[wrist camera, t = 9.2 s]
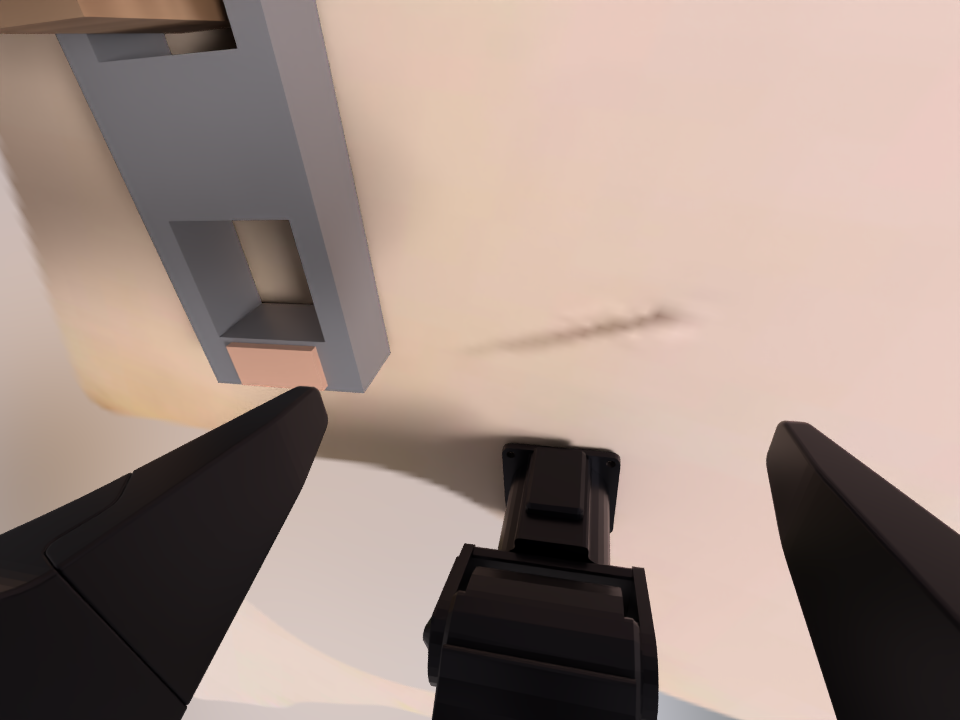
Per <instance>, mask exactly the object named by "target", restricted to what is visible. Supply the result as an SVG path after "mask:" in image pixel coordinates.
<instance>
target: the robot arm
mask: <svg viewBox="0 0 960 720" xmlns="http://www.w3.org/2000/svg"><path fill="white" fill-rule="evenodd" d="M327 424H328V416H327V413H326V410H325V407H324V404H323V400H322V397H321V394H320V392H319V390H318V389H317V388H315V387H309V386H297V387H295V388H293V389H291V390H289V391H287V392H285V393H283V394H281V395H279V396H277V397H275V398H274V399H272V400H270V401H268V402H266V403H264V404H262V405H260V406H258V407H256V408H254V409H252V410H250V411H248V412H246V413H244V414H243V415H241V416H239V417H237V418H235V419H233V420H231V421H229V422H227V423H225V424H223V425H221V426H219V427H217V428H215V429H213V430H212V431H210V432H208V433H206V434H204V435H202V436H200V437H198V438H196V439H194V440H192V441H190V442H188V443H186V444H184V445H182V446H181V447H179V448H177V449H175V450H173V451H171V452H169V453H167V454H165V455H163V456H161V457H159V458H158V459H156V460H153V461H151V462H150V463H148V464H146V465H144V466H142V467H140V468H138V469H136V470H134V471H133V473H128V474H126V475H124V476H122V477H120V478H119V479H116V480H115V481H113V482H111V483H109V484H107V485H105V486H103V487H101V488H99V489H97V490H95V491H93V492H91V493H89V494H87V495H85V496H83V497H81V498H79V499H77V500H74V501H72V502H70V503H68V504H66V505H64V506H62V507H60V508H58V509H56V510H53V511H51V512H49V513H47V514H45V515H42V516H40V517H38V518H36V519H34V520H32V521H30V522H27V523H25V524H23V525H21V526H18V527H16V528H14V529H12V530H10V531H7V532H5V533H4V534H1V535H0V720H181V719H182V717H183V715H184V713H185V711H186V709H187V706H186V705H188V704H189V703H190V701H191V699H192V697H193V695H194V693H195V691H196V689H197V688H198V686H199V684H200V682H201V680H202V678H203V676H204V674H205V672H206V670H207V669H208V667H209V665H210V663H211V661H212V659H213V657H214V655H215V653H216V651H217V650H218V648H219V646H220V644H221V642H222V640H223V638H224V636H225V634H226V632H227V631H228V629H229V627H230V625H231V623H232V621H233V619H234V617H235V615H236V613H237V611H238V610H239V608H240V606H241V604H242V602H243V600H244V598H245V596H246V594H247V592H248V591H249V589H250V587H251V585H252V583H253V581H254V579H255V577H256V575H257V573H258V572H259V570H260V568H261V566H262V564H263V562H264V560H265V558H266V556H267V554H268V553H269V550H270V548H271V547H272V545H273V543H274V541H275V539H276V537H277V535H278V534H279V532H280V530H281V528H282V526H283V524H284V522H285V520H286V518H287V516H288V515H289V512H290V511H291V509H292V507H293V505H294V503H295V501H296V499H297V497H298V495H299V493H300V491H301V489H302V487H303V485H304V483H305V480H306V478H307V476H308V473H309V470H310V468H311V466H312V463H313V461H314V458H315V456H316V453H317V451H318V448H319V446H320V443H321V441H322V438H323V436H324V433H325V431H326V428H327ZM509 451H511V452H514V453H510V452H509ZM502 459H503V473H504V488H505V502H506V511H505V516H504V521H503V526H502V531H501V536H500V541H499V546H498V550H496V549H488V548H481V547H475V545H473V544H466V543H465V544H464V546H463V548H462V550H461V553H460V555H459V557H456V560H455V562H454V564H453V567H452V569H451V572H450V574H449V576H448V579H447V581H446V583H445V586H444V588H443V591H442V593H441V595H440V597H439V600H438V602H437V604H436V607H435V609H434V612H433V614H432V617H431V618H430V620H429V621H428V623H427V624H426V626H425V629H424V633H423V641H424V643H425V644H426V646H427V648H428V678H429V683H430V685H431V686H436V693H435V701H434V708H433V715H432V720H657V713H658V688H659V684H658V657H657V646H656V638H655V632H654V625H653V619H652V613H651V607H650V601H649V595H648V589H647V583H646V576H645V570H644V568H639V567H632V568H625V567H618V566H611V565H610V533H611V532H612V530H613V524H614V515H615V507H616V499H617V490H618V482H619V474H620V457H619V455H617V454H616V453H612V452H602V451H591V450H580V449H569V448H558V447H547V446H536V445H525V444H514V443H508V444H506V445H505V446H504V448H503V452H502ZM608 461H614V462H608ZM766 466H767V472H768V477H769V483H770V488H771V493H772V498H773V504H774V509H775V514H776V520H777V525H778V530H779V535H780V540H781V545H782V548H783V552H784V555H785V559H786V562H787V565H788V568H789V571H790V574H791V577H792V580H793V584H794V587H795V590H796V593H797V596H798V599H799V602H800V605H801V609H802V612H803V615H804V618H805V621H806V624H807V627H808V630H809V634H810V637H811V640H812V643H813V646H814V649H815V652H816V655H817V658H818V662H819V665H820V668H821V671H822V674H823V677H824V680H825V683H826V687H827V690H828V693H829V696H830V699H831V702H832V705H833V708H834V712H835V715H836V718H837V720H960V534H958V533H957V532H956V531H954V530H953V529H951V528H950V527H949V526H947V525H946V524H945V523H943V522H942V521H941V520H939V519H938V518H937V517H935V516H934V515H932V514H931V513H930V512H928V511H927V510H926V509H924V508H923V507H922V506H920V505H919V504H918V503H916V502H915V501H914V500H912V499H911V498H909V497H908V496H907V495H905V494H904V493H903V492H901V491H900V490H899V489H897V488H896V487H895V486H893V485H892V484H890V483H889V482H888V481H886V480H885V479H884V478H882V477H881V476H880V475H878V474H877V473H876V472H874V471H873V470H871V469H870V468H869V467H867V466H866V465H865V464H863V463H862V462H861V461H859V460H858V459H857V458H855V457H854V456H853V455H851V454H850V453H848V452H847V451H846V450H844V449H843V448H842V447H840V446H839V445H838V444H836V443H835V442H834V441H832V440H831V439H829V438H828V437H827V436H825V435H824V434H823V433H821V432H820V431H819V430H817V429H816V428H815V427H813V426H812V425H810V424H809V423H806V422H797V421H782V422H780V423H779V424H778V426H777V428H776V430H775V433H774V436H773V439H772V442H771V445H770V447H769V450H768V453H767V458H766Z"/></svg>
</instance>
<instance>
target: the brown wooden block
mask: <svg viewBox="0 0 960 720" xmlns="http://www.w3.org/2000/svg"><path fill="white" fill-rule="evenodd" d="M230 27H231V25H230V22H229V18H228V15H227V12H226V8H225V5H224V2H223V0H0V34H97V33H189V32H197V31H205V30H213V29H222V28H230Z"/></svg>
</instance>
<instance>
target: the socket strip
mask: <svg viewBox="0 0 960 720" xmlns="http://www.w3.org/2000/svg"><path fill="white" fill-rule="evenodd" d="M223 2H224V5H225V8H226V12H227V15H228V18H229V22H230V25H231V28H232V32H233V35H234V38H235V42H236V45H237V48H238V49H228V50H218V51H208V52H198V53H188V54H178V55H171V52H170V49H169V47H168V44H167V41H166V38H165V36H164V33H97V34H55V35H56V37H57V39H58V41H59V43H60V45H61V47H62V49H63V52H64V54H65V56H66V58H67V60H68V62H69V64H70V67H71V69H72V71H73V73H74V75H75V77H76V79H77V81H78V84H79V86H80V88H81V90H82V92H83V94H84V96H85V99H86V101H87V103H88V105H89V107H90V109H91V111H92V114H93V116H94V118H95V120H96V122H97V124H98V126H99V128H100V131H101V133H102V135H103V137H104V139H105V141H106V143H107V146H108V148H109V150H110V152H111V154H112V156H113V158H114V160H115V163H116V165H117V167H118V169H119V171H120V173H121V175H122V178H123V180H124V182H125V184H126V186H127V188H128V190H129V193H130V195H131V197H132V199H133V201H134V203H135V205H136V207H137V210H138V212H139V214H140V216H141V218H142V220H143V222H144V225H145V227H146V229H147V231H148V233H149V235H150V237H151V240H152V242H153V244H154V246H155V248H156V250H157V252H158V254H159V257H160V259H161V261H162V263H163V265H164V267H165V269H166V272H167V274H168V276H169V278H170V280H171V282H172V284H173V286H174V289H175V291H176V293H177V295H178V297H179V299H180V301H181V304H182V306H183V308H184V310H185V312H186V314H187V316H188V319H189V321H190V323H191V325H192V327H193V329H194V331H195V333H196V336H197V338H198V340H199V342H200V344H201V346H202V348H203V351H204V353H205V355H206V357H207V359H208V361H209V363H210V366H211V368H212V370H213V372H214V374H215V376H216V378H217V380H218V383H230V384H242V385H252V386H265V387H279V388H295V387H297V386H309V387H315V388H317V389H318V390H320V391H324V390H327V391H341V392H354V393H365V391H366V390H367V388H368V387H369V385H370V384H371V382H372V381H373V379H374V377H375V376H376V374H377V373H378V371H379V370H380V368H381V367H382V365H383V364H384V362H385V361H386V359H387V358H388V356H389V355H390V353H391V352H390V348H389V343H388V338H387V334H386V329H385V324H384V319H383V315H382V310H381V305H380V301H379V296H378V291H377V287H376V282H375V277H374V273H373V268H372V263H371V259H370V254H369V249H368V244H367V240H366V235H365V230H364V226H363V221H362V216H361V212H360V207H359V202H358V198H357V193H356V188H355V184H354V179H353V174H352V169H351V165H350V160H349V155H348V151H347V146H346V141H345V137H344V132H343V127H342V123H341V118H340V113H339V109H338V104H337V99H336V94H335V90H334V85H333V80H332V76H331V71H330V66H329V62H328V57H327V52H326V48H325V43H324V38H323V34H322V29H321V24H320V20H319V15H318V10H317V5H316V1H315V0H223ZM232 220H289V223H290V226H291V229H292V233H293V236H294V239H295V243H296V246H297V249H298V253H299V256H300V259H301V263H302V266H303V269H304V273H305V276H306V280H307V283H308V286H309V290H310V293H311V296H312V300H313V303H314V305H306V304H273V303H262V302H261V299H260V296H259V293H258V291H257V288H256V285H255V282H254V280H253V277H252V274H251V271H250V269H249V266H248V263H247V260H246V258H245V255H244V252H243V250H242V247H241V244H240V241H239V239H238V236H237V233H236V230H235V228H234V225H233V222H232Z"/></svg>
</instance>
